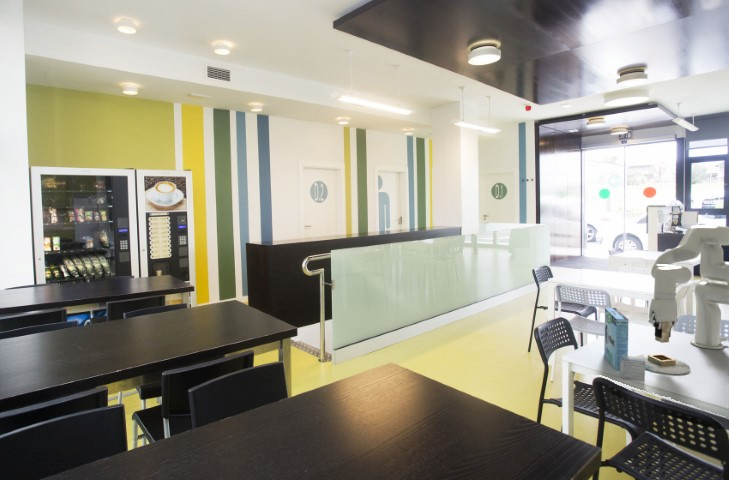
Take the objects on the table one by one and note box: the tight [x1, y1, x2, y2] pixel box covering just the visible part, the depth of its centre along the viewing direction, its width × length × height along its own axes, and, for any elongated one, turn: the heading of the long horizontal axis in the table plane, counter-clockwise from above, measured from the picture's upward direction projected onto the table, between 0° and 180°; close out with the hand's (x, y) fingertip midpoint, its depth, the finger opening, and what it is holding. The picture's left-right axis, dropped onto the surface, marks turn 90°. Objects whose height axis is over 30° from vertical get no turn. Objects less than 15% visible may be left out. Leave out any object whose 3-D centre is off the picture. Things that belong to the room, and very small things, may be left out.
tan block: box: [654, 322, 670, 344], centre depth 181 cm, size 4×4×10 cm
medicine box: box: [619, 355, 646, 382], centre depth 171 cm, size 8×4×9 cm, turn 71°
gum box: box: [603, 307, 629, 371], centre depth 186 cm, size 20×5×23 cm, turn 162°
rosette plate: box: [635, 353, 691, 376], centre depth 183 cm, size 20×20×4 cm
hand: (662, 336), depth 181 cm, fingers closed on tan block, 3 cm apart
